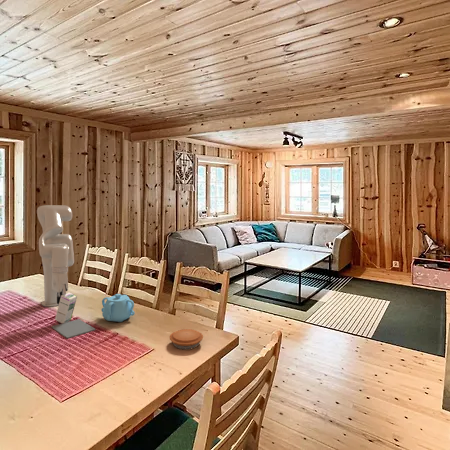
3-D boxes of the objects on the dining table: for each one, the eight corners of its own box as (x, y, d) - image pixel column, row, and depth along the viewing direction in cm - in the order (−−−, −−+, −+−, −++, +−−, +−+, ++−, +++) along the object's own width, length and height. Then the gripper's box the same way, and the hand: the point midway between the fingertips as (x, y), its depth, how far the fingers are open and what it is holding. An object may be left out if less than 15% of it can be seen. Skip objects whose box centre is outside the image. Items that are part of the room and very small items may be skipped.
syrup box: (63, 324, 173) (70, 299, 170) (54, 319, 173) (61, 294, 171) (70, 320, 178) (78, 295, 176) (61, 315, 179) (68, 291, 177)
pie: (209, 346, 153) (209, 336, 153) (179, 355, 144) (179, 344, 144) (192, 334, 166) (192, 324, 165) (163, 341, 157) (163, 331, 156)
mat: (51, 327, 168) (51, 326, 168) (79, 320, 178) (79, 319, 178) (67, 338, 156) (67, 337, 156) (95, 330, 167) (95, 328, 167)
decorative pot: (136, 321, 179) (136, 297, 178) (104, 326, 172) (104, 300, 170) (130, 311, 193) (130, 288, 192) (100, 315, 186) (100, 291, 185)
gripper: (46, 268, 176) (47, 302, 178) (58, 273, 167) (59, 308, 168) (61, 266, 182) (62, 299, 184) (73, 270, 172) (74, 305, 174)
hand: (60, 303), depth 176 cm, fingers closed
